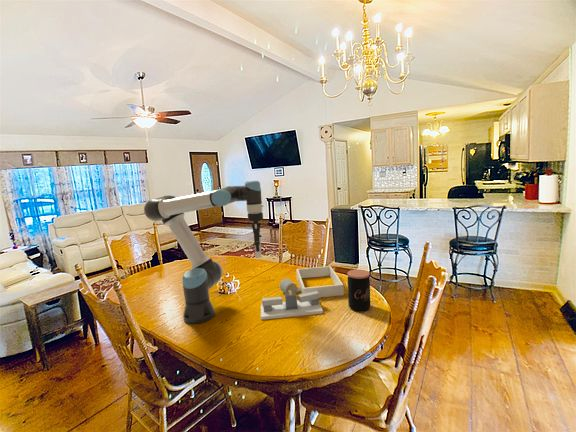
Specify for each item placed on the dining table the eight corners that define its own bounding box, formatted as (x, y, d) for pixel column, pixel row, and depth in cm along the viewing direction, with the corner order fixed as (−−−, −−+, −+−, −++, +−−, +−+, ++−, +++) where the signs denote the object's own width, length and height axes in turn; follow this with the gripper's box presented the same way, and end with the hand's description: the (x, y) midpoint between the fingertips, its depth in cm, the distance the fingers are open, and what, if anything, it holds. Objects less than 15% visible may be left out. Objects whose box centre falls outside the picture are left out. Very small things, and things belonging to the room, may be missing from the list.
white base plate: (261, 319, 151) (259, 306, 150) (261, 306, 165) (260, 294, 164) (322, 313, 153) (322, 299, 152) (317, 301, 167) (317, 288, 166)
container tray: (303, 299, 171) (303, 288, 170) (297, 278, 202) (296, 269, 201) (343, 295, 172) (343, 284, 171) (330, 274, 204) (330, 265, 203)
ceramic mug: (287, 297, 174) (286, 284, 173) (279, 292, 181) (279, 279, 180) (303, 292, 179) (302, 279, 178) (295, 288, 186) (294, 275, 185)
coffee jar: (354, 314, 150) (353, 278, 147) (344, 304, 161) (343, 271, 158) (374, 310, 153) (373, 274, 150) (363, 301, 163) (362, 267, 160)
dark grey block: (297, 308, 156) (296, 293, 155) (286, 309, 156) (285, 294, 155) (296, 303, 162) (295, 289, 160) (285, 304, 161) (284, 290, 160)
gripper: (262, 215, 145) (266, 260, 148) (262, 208, 169) (265, 246, 173) (246, 217, 144) (250, 261, 148) (248, 209, 169) (251, 247, 172)
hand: (258, 253), depth 160 cm, fingers open, 13 cm apart
